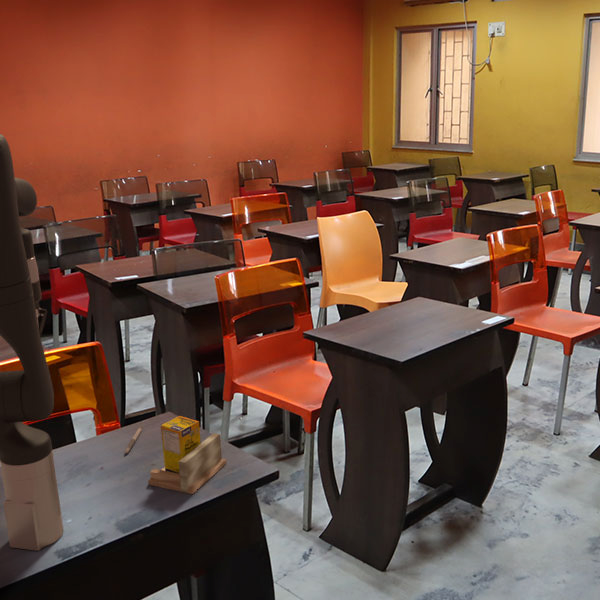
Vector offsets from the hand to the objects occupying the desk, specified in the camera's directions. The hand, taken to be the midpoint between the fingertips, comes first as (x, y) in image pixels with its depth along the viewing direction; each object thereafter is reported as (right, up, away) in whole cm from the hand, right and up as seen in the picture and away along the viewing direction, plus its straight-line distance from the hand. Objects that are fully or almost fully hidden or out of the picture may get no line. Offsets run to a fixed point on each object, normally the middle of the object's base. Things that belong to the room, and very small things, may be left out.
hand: (31, 358), depth 160 cm
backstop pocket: (+32, -25, +5) cm, 41 cm away
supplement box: (+32, -25, +5) cm, 40 cm away
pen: (+17, -22, +21) cm, 35 cm away
